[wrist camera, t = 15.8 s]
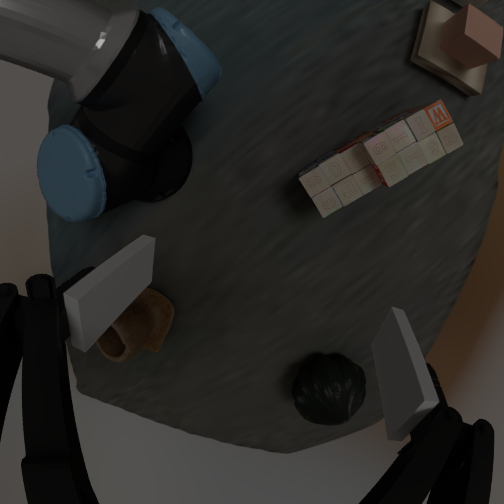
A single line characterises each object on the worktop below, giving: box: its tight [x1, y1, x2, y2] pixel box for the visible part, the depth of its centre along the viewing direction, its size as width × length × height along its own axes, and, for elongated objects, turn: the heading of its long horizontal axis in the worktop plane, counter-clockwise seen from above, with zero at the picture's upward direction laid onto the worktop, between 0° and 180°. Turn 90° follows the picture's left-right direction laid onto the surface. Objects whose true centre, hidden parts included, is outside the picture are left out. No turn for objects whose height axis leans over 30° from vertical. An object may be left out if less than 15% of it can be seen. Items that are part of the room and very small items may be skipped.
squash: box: [292, 354, 366, 425], centre depth 52 cm, size 14×15×15 cm
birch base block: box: [410, 1, 488, 96], centre depth 30 cm, size 12×12×4 cm
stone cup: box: [96, 288, 175, 362], centre depth 54 cm, size 15×12×15 cm
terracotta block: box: [439, 4, 503, 69], centre depth 24 cm, size 6×6×9 cm
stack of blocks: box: [299, 100, 463, 218], centre depth 36 cm, size 21×6×12 cm, turn 124°
